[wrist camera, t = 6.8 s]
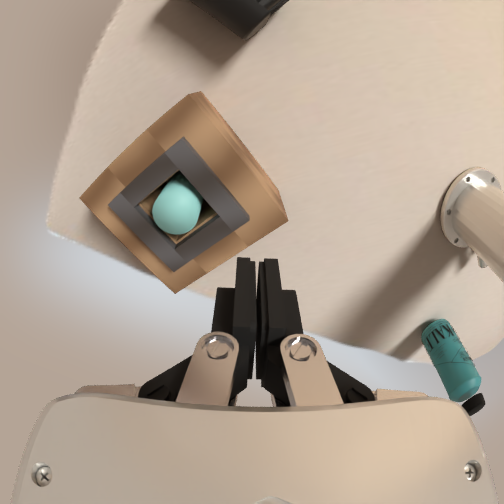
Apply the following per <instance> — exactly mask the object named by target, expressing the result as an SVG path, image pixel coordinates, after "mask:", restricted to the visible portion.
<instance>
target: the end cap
mask: <svg viewBox="0 0 504 504" xmlns="http://www.w3.org/2000/svg"><path fill="white" fill-rule="evenodd" d="M189 1H191V2H192V3H194V4H195V5H197V6H198V7H200V8H201V9H203V10H204V11H205V12H207V13H208V14H210V15H211V16H212V17H214V18H215V19H217V20H218V21H219V22H221V23H222V24H223V25H225V26H226V27H227V28H229V29H230V30H231V31H233V32H234V33H235V34H236V35H238V36H239V37H240V38H242V39H243V40H247V39H249V38H250V37H252V36H253V35H254V34H256V33H257V32H258V31H259V30H260V29H261V28H263V27H264V26H265V25H266V23H267V21H268V19H269V17H270V16H271V15H272V14H273V13H274V12H275V11H277V10H278V9H279V8H280V7H281V6H283V5H284V4H285V3H286V2H288V1H289V0H189Z"/></svg>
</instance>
